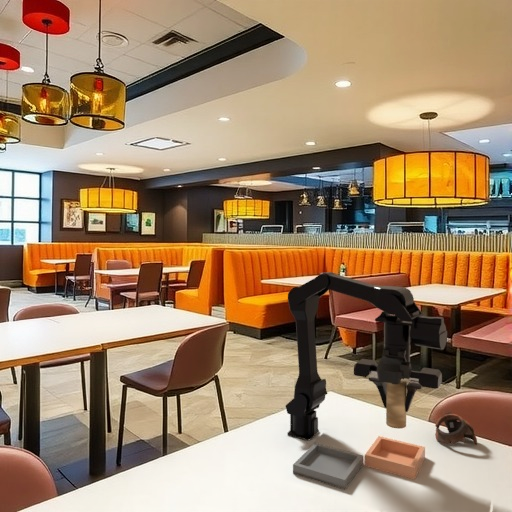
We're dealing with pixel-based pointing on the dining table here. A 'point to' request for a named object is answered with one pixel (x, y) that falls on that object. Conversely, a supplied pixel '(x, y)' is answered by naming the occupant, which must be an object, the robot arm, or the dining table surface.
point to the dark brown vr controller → (454, 429)
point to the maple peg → (396, 404)
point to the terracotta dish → (395, 457)
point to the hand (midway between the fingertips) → (396, 409)
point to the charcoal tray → (328, 465)
